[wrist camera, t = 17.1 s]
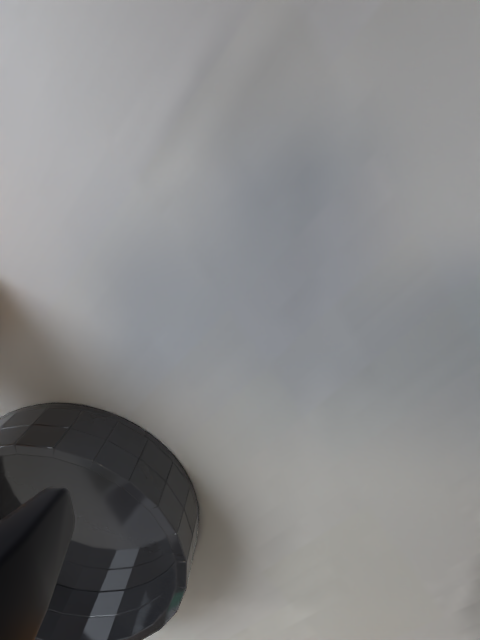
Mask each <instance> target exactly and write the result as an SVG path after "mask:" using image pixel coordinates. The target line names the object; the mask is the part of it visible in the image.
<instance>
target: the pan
mask: <svg viewBox="0 0 480 640" xmlns="http://www.w3.org/2000/svg"><path fill="white" fill-rule="evenodd" d="M48 487H65V488H67V489H68V490H69V492H70V496H71V501H72V506H73V511H74V516H75V527H74V531H73V534H72V537H71V540H70V543H69V546H68V549H67V552H66V555H65V558H64V561H63V565H62V568H61V571H60V574H59V577H58V580H57V583H56V586H55V589H54V592H53V595H52V598H51V601H50V603H49V606H48V609H47V612H46V614H45V616H44V619H43V621H42V624H41V626H40V628H39V631H38V633H37V635H36V638H35V640H143V639H144V638H146V637H148V636H150V635H152V634H153V633H155V632H157V631H159V630H160V629H161V628H162V627H163V626H164V625H165V624H166V623H167V622H168V621H169V620H170V619H171V617H172V616H173V615H174V614H175V613H176V612H177V610H178V608H179V606H180V603H181V601H182V598H183V596H184V593H185V591H186V588H187V584H188V579H189V574H190V570H191V565H192V560H193V555H194V551H195V546H196V541H197V532H198V524H199V511H198V503H197V499H196V495H195V492H194V489H193V487H192V484H191V481H190V480H189V478H188V476H187V474H186V472H185V471H184V469H183V467H182V466H181V465H180V463H179V462H178V461H177V459H176V458H175V457H174V456H173V455H172V453H171V452H170V451H169V450H168V449H167V448H166V447H165V446H164V445H163V444H162V443H160V442H159V441H158V440H157V439H156V438H154V437H153V436H152V435H151V434H149V433H148V432H146V431H145V430H143V429H142V428H140V427H139V426H137V425H135V424H133V423H131V422H130V421H128V420H126V419H124V418H122V417H119V416H117V415H114V414H112V413H109V412H106V411H103V410H100V409H96V408H92V407H88V406H82V405H76V404H63V403H50V404H39V405H34V406H29V407H25V408H21V409H18V410H16V411H13V412H10V413H8V414H6V415H4V416H3V417H1V418H0V520H2V519H3V518H4V517H6V516H7V515H9V514H10V513H11V512H13V511H14V510H16V509H17V508H18V507H20V506H21V505H23V504H24V503H25V502H27V501H28V500H30V499H31V498H32V497H34V496H35V495H37V494H38V493H39V492H41V491H42V490H44V489H45V488H48Z"/></svg>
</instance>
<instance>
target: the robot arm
mask: <svg viewBox="0 0 480 640" xmlns="http://www.w3.org/2000/svg"><path fill="white" fill-rule="evenodd" d="M74 527H75V516H74V511H73V506H72V501H71V496H70V492H69V490H68V489H67V488H65V487H48V488H45V489H44V490H42V491H41V492H39V493H38V494H37V495H35V496H34V497H32V498H31V499H30V500H28V501H27V502H25V503H24V504H23V505H21V506H20V507H18V508H17V509H16V510H14V511H13V512H11V513H10V514H9V515H7V516H6V517H4V518H3V519H2V520H0V640H35V638H36V635H37V633H38V631H39V628H40V626H41V624H42V621H43V619H44V616H45V614H46V612H47V609H48V606H49V603H50V601H51V598H52V595H53V592H54V589H55V586H56V583H57V580H58V577H59V574H60V571H61V568H62V565H63V561H64V558H65V555H66V552H67V549H68V546H69V543H70V540H71V537H72V534H73V531H74Z"/></svg>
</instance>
